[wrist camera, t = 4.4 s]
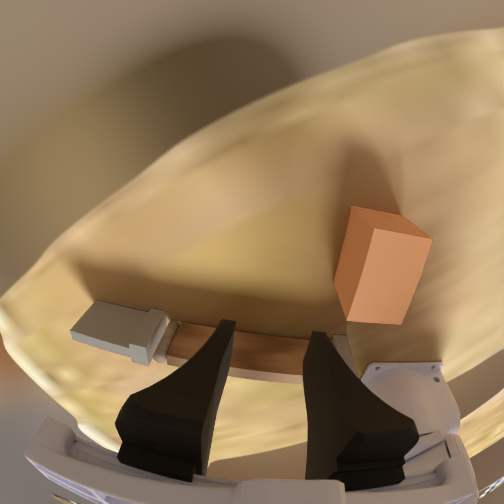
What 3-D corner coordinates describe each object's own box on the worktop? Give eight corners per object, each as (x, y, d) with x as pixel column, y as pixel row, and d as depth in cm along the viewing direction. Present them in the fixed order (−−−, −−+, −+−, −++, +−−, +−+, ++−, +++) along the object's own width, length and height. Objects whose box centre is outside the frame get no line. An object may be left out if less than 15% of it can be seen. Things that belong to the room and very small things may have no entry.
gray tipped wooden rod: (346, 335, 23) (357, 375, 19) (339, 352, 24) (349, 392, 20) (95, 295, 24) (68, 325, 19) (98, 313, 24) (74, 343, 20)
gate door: (329, 341, 23) (336, 377, 19) (326, 350, 23) (332, 386, 20) (168, 319, 23) (152, 352, 19) (169, 328, 24) (153, 361, 20)
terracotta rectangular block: (401, 215, 19) (432, 239, 14) (379, 287, 21) (401, 324, 17) (351, 205, 19) (374, 228, 14) (333, 281, 21) (346, 320, 17)
